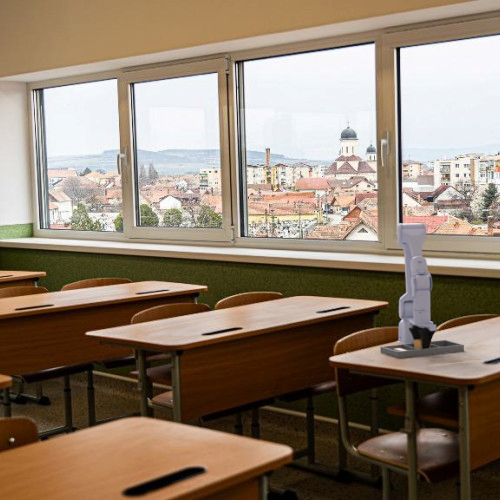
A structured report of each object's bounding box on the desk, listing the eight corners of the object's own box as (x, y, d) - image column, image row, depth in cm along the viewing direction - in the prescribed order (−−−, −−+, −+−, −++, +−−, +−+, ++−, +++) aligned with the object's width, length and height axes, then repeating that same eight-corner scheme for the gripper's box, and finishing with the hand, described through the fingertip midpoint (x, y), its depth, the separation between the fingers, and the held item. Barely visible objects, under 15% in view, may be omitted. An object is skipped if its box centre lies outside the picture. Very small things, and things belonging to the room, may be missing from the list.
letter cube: (414, 351, 316) (413, 339, 316) (424, 350, 317) (423, 338, 317) (420, 353, 312) (420, 341, 312) (430, 351, 314) (430, 340, 313)
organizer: (380, 353, 315) (380, 346, 315) (445, 346, 325) (445, 339, 325) (397, 359, 305) (397, 352, 305) (463, 351, 315) (463, 344, 314)
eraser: (393, 352, 313) (393, 348, 313) (399, 352, 314) (399, 348, 314) (401, 355, 309) (401, 351, 309) (407, 354, 310) (407, 350, 310)
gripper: (443, 311, 308) (444, 351, 309) (420, 306, 322) (420, 344, 323) (425, 312, 306) (426, 352, 307) (403, 307, 319) (403, 346, 320)
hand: (422, 348), depth 315 cm, fingers closed on letter cube, 4 cm apart
